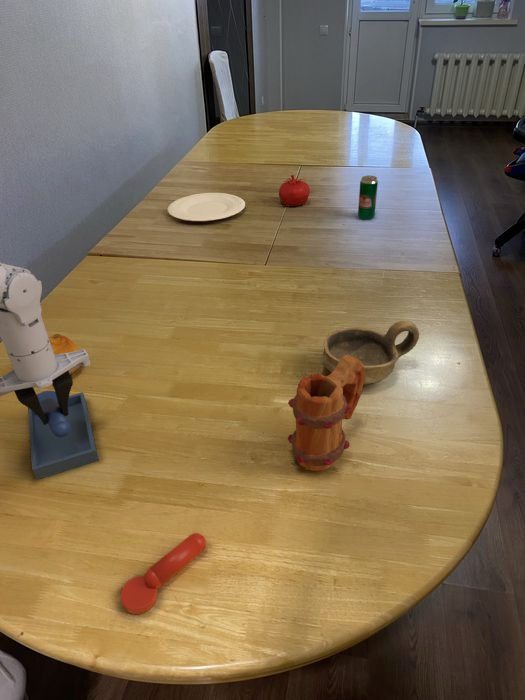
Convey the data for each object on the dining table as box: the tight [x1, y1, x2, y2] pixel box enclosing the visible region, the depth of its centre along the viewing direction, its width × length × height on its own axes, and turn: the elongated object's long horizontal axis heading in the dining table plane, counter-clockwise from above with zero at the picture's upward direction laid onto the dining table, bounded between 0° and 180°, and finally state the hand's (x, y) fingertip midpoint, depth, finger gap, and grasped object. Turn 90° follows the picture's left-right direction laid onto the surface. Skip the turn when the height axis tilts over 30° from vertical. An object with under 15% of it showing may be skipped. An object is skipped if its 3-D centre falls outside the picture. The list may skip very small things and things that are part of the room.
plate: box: [167, 192, 246, 223], centre depth 166 cm, size 25×25×2 cm
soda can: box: [357, 174, 379, 221], centre depth 154 cm, size 5×5×12 cm
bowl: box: [320, 319, 420, 385], centre depth 93 cm, size 14×18×10 cm
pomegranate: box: [278, 174, 311, 207], centre depth 167 cm, size 10×10×9 cm
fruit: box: [48, 333, 80, 375], centre depth 98 cm, size 8×8×8 cm
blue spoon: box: [36, 390, 70, 437], centre depth 81 cm, size 12×4×3 cm, turn 35°
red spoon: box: [120, 532, 207, 615], centre depth 64 cm, size 12×4×3 cm, turn 135°
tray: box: [27, 391, 100, 480], centre depth 84 cm, size 15×9×2 cm, turn 23°
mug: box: [287, 355, 365, 472], centre depth 76 cm, size 15×8×15 cm, turn 136°
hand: (54, 416), depth 80 cm, fingers closed on blue spoon, 2 cm apart
